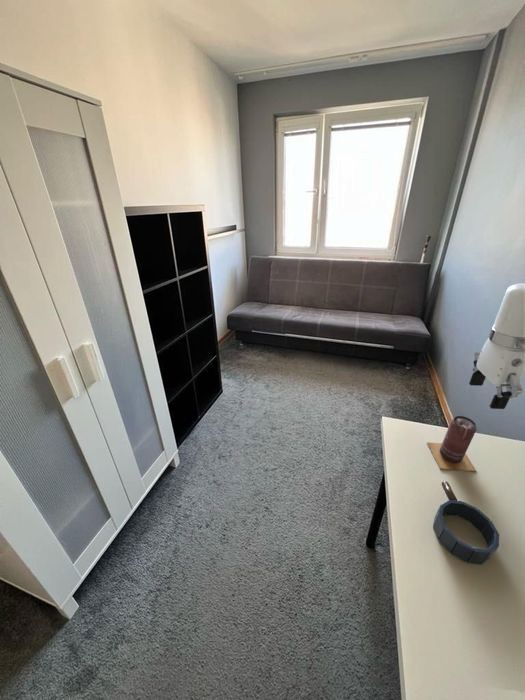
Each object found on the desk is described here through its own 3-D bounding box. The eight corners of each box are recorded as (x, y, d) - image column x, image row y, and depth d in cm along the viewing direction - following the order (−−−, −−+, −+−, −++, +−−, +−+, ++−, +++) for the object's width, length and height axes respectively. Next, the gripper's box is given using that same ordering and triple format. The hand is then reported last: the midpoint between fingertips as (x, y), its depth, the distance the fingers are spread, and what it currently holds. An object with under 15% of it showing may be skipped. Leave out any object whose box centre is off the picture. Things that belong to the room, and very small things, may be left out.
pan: (462, 492, 76) (468, 481, 74) (502, 567, 61) (511, 555, 59) (417, 489, 78) (422, 477, 75) (446, 560, 63) (452, 549, 60)
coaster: (459, 445, 90) (459, 444, 90) (476, 471, 82) (476, 471, 82) (426, 443, 92) (427, 442, 91) (439, 469, 83) (440, 468, 83)
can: (442, 462, 84) (457, 428, 78) (436, 446, 90) (449, 413, 83) (465, 466, 83) (482, 432, 76) (457, 449, 88) (472, 416, 82)
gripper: (557, 356, 57) (524, 419, 65) (504, 323, 72) (482, 377, 80) (516, 356, 58) (489, 418, 66) (472, 323, 73) (454, 377, 81)
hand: (485, 395), depth 73 cm, fingers open, 9 cm apart
